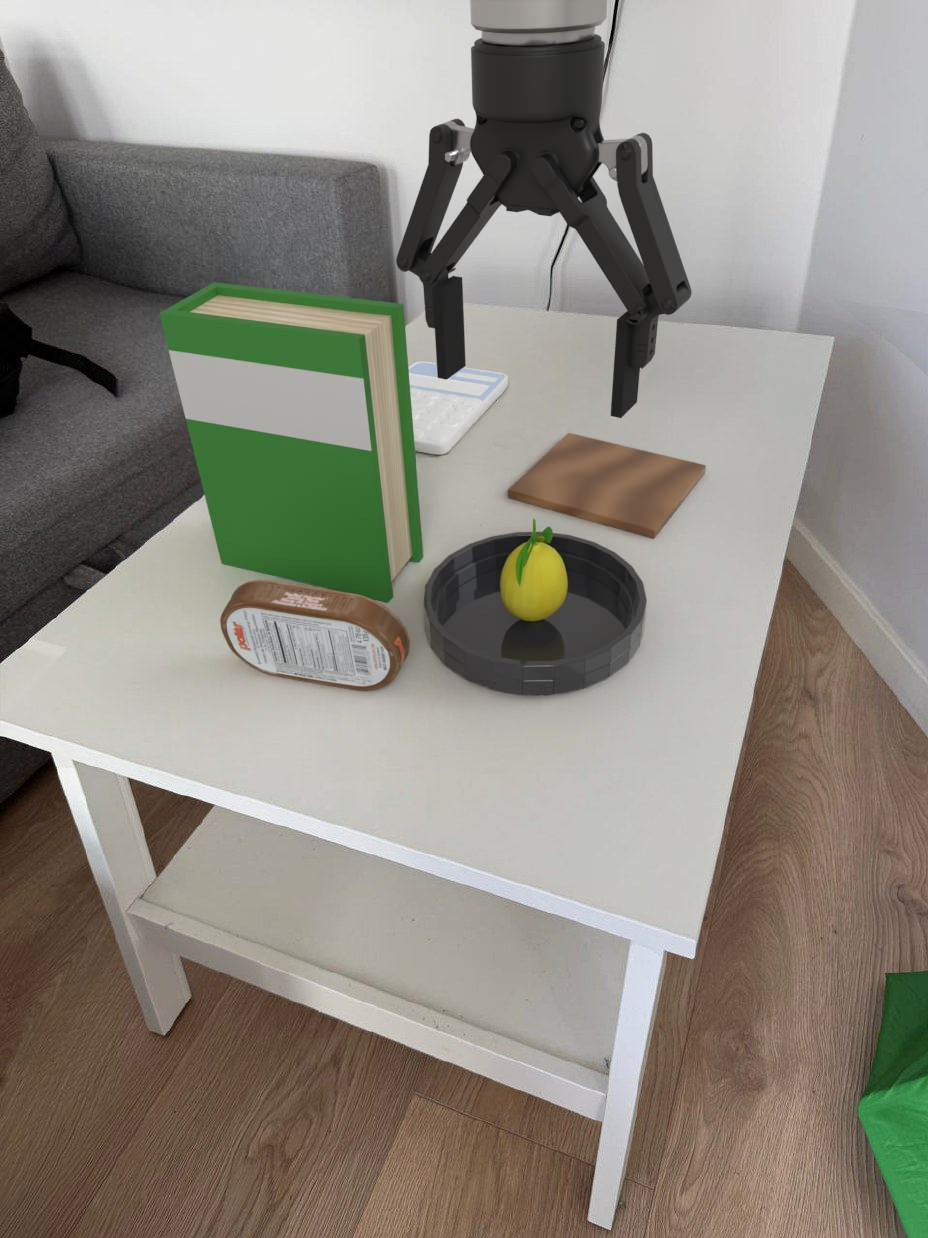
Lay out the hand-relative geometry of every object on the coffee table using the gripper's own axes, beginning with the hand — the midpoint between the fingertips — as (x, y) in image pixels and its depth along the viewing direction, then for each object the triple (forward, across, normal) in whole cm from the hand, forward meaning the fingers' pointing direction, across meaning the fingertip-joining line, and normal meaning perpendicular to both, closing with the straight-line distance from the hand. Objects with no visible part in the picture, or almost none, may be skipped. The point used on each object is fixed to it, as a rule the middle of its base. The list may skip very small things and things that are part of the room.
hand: (534, 390), depth 64 cm
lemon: (+21, 0, 0) cm, 21 cm away
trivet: (+21, -4, +24) cm, 32 cm away
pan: (+21, 0, 0) cm, 21 cm away
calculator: (+22, -30, +30) cm, 48 cm away
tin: (+22, -12, -14) cm, 28 cm away
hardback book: (+22, -22, -1) cm, 31 cm away
